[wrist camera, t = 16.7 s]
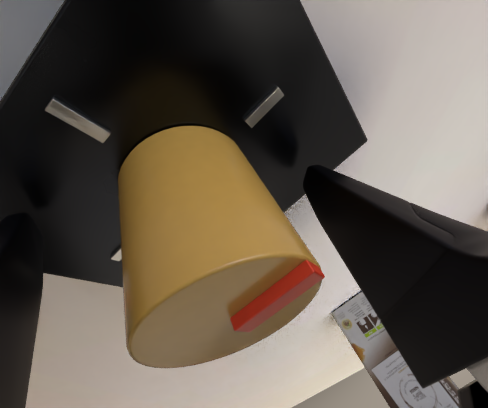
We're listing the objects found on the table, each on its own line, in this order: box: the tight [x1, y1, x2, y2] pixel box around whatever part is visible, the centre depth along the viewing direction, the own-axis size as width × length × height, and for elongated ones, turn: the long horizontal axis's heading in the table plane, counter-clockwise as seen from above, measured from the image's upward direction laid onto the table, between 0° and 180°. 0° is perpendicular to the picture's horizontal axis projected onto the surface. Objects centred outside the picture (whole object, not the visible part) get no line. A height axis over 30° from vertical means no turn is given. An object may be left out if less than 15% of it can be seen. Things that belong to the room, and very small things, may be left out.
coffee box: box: [332, 292, 460, 408], centre depth 33 cm, size 9×6×16 cm
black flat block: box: [0, 0, 367, 287], centre depth 10 cm, size 10×12×3 cm
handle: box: [118, 126, 325, 368], centre depth 7 cm, size 4×4×5 cm
